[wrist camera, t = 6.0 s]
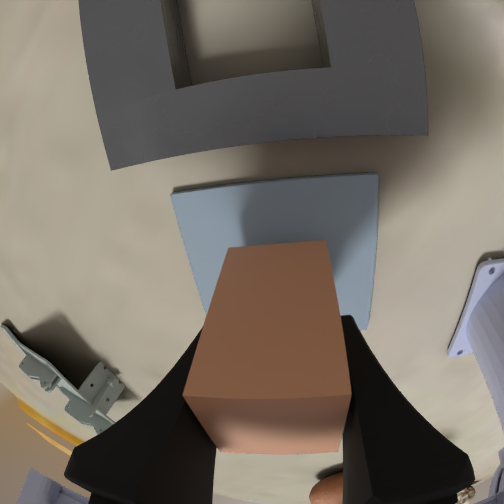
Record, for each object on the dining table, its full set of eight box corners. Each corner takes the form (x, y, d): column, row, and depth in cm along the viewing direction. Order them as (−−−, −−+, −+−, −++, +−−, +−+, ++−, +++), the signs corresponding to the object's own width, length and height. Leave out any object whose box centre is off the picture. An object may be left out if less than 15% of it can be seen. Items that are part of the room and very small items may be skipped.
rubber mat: (376, 172, 12) (378, 174, 11) (366, 325, 16) (367, 329, 16) (172, 192, 13) (170, 194, 13) (215, 334, 18) (214, 337, 18)
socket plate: (370, -76, 5) (381, -95, 4) (408, 126, 10) (428, 135, 9) (100, -30, 7) (76, -39, 6) (133, 157, 12) (111, 170, 11)
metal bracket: (19, 363, 14) (141, 462, 21) (67, 308, 19) (168, 417, 26) (-11, 334, 22) (72, 418, 29) (20, 300, 26) (95, 386, 33)
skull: (437, 499, 57) (454, 511, 47) (452, 474, 59) (470, 485, 49) (456, 495, 58) (473, 505, 48) (470, 472, 59) (488, 481, 49)
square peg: (325, 239, 12) (351, 394, 6) (326, 313, 14) (338, 451, 8) (228, 247, 13) (182, 395, 7) (244, 317, 15) (220, 451, 9)
